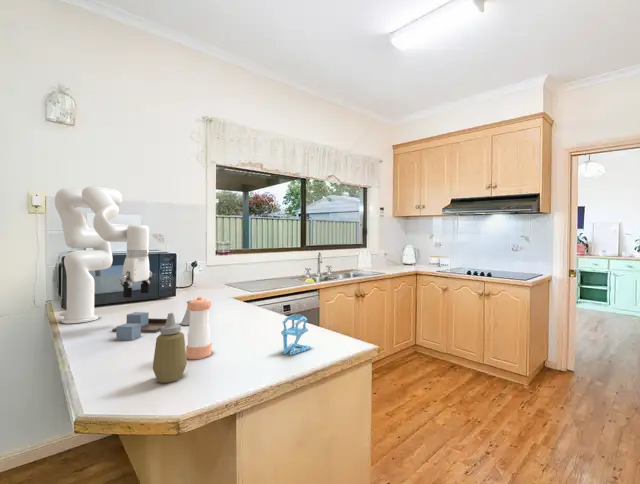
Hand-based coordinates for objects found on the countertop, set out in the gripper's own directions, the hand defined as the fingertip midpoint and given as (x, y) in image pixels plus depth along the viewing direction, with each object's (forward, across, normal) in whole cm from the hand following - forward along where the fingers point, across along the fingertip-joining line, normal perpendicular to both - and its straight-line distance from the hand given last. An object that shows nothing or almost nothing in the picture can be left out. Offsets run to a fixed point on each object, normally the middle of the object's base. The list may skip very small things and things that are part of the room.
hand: (136, 295), depth 141 cm
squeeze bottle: (+13, +48, +45) cm, 67 cm away
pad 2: (+14, +14, +7) cm, 21 cm away
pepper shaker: (+13, +30, +43) cm, 54 cm away
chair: (+12, +24, +73) cm, 78 cm away
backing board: (+14, -1, +3) cm, 14 cm away
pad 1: (+13, -1, 0) cm, 13 cm away
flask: (+14, -8, +18) cm, 25 cm away
